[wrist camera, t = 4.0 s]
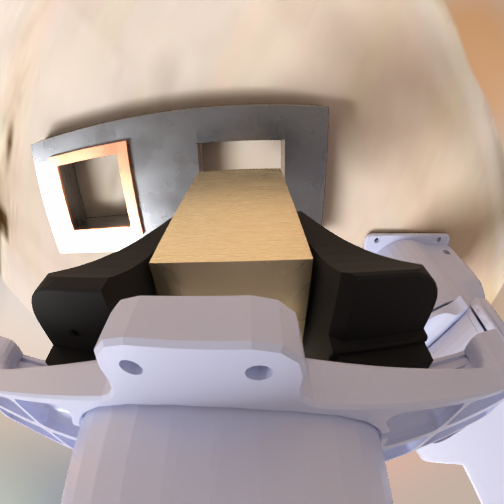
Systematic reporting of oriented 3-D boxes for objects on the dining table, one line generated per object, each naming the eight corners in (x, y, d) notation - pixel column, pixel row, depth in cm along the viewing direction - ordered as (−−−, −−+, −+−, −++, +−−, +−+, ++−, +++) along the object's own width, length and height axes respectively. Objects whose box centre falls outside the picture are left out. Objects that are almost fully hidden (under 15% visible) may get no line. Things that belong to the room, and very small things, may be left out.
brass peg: (280, 168, 13) (313, 259, 7) (278, 239, 16) (298, 359, 9) (199, 171, 13) (148, 263, 7) (206, 241, 16) (179, 360, 9)
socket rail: (320, 105, 17) (329, 107, 15) (314, 232, 22) (320, 247, 20) (44, 139, 17) (28, 145, 15) (70, 241, 22) (58, 255, 20)
